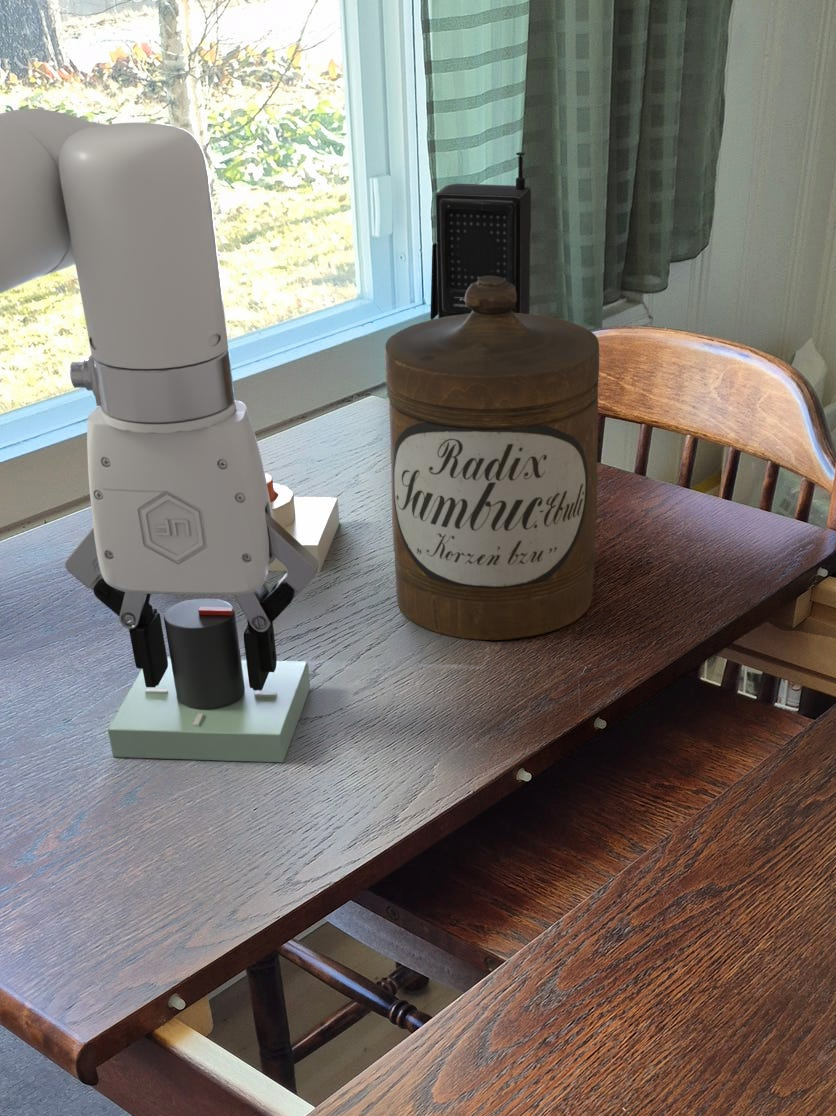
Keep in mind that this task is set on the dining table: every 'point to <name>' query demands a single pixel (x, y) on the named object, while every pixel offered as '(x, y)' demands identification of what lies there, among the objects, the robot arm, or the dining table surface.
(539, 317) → the wooden container
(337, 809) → the dining table surface
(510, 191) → the portable radio
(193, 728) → the panel
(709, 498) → the dining table surface
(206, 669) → the dial
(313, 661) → the dining table surface
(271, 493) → the button
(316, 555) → the block
